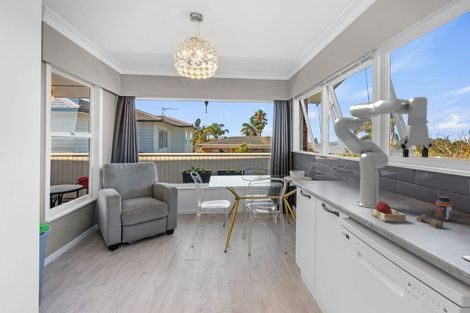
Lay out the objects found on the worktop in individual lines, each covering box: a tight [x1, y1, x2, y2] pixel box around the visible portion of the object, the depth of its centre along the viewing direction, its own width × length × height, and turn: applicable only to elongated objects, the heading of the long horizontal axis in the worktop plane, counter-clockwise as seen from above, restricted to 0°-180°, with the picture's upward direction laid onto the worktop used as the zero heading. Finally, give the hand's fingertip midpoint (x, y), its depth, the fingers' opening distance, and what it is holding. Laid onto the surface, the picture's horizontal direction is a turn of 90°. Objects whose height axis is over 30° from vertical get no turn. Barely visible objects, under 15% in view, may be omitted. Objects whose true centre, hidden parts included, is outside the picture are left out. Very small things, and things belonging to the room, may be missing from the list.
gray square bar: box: [417, 215, 442, 227], centre depth 113 cm, size 12×1×1 cm, turn 2°
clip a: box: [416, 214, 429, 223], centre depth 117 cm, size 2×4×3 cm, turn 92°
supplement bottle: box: [434, 195, 453, 222], centre depth 119 cm, size 6×6×11 cm
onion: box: [376, 200, 391, 214], centre depth 121 cm, size 6×6×8 cm
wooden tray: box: [371, 208, 407, 223], centre depth 120 cm, size 10×10×4 cm
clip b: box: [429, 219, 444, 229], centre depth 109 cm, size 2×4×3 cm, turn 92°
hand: (415, 157), depth 122 cm, fingers open, 9 cm apart
